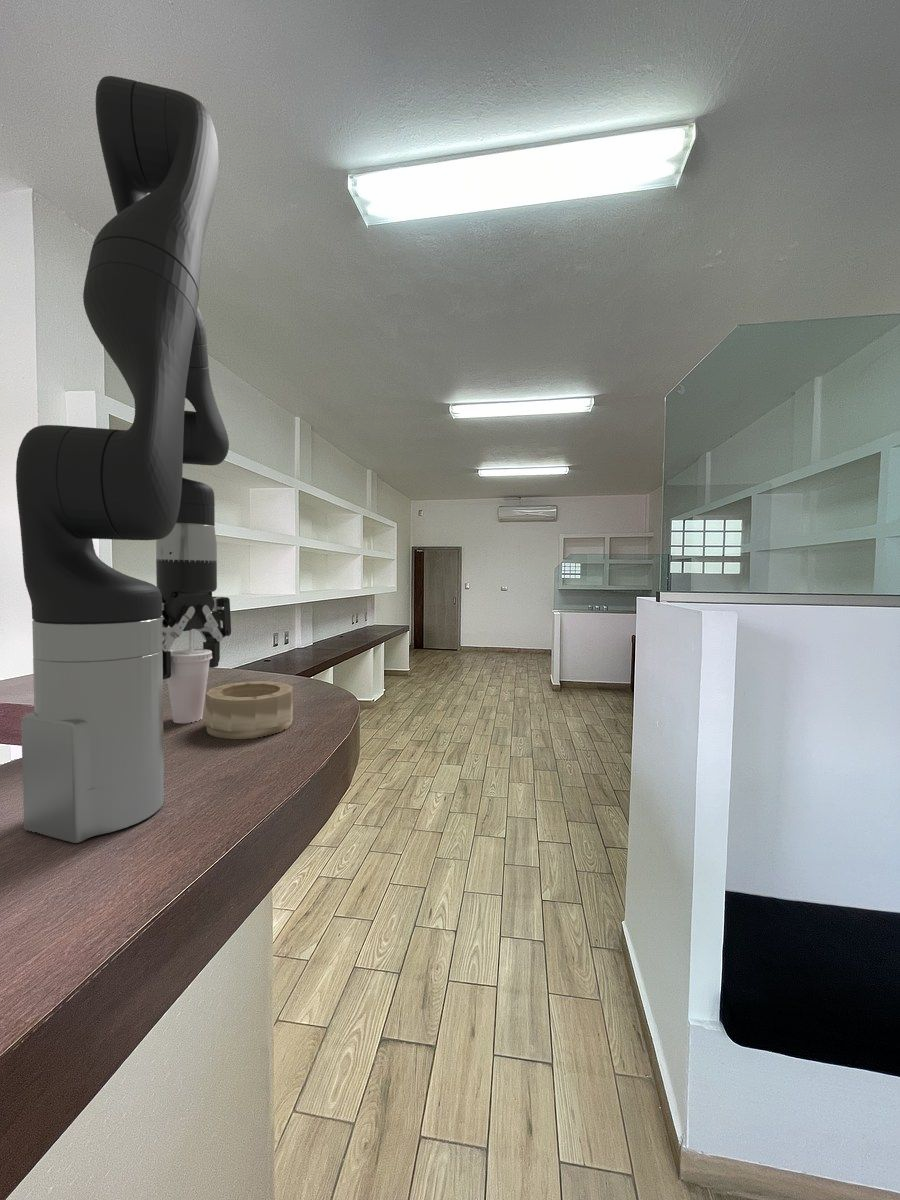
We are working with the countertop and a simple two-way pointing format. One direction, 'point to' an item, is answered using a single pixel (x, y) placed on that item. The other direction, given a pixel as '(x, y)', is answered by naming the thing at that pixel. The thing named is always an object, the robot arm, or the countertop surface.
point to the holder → (249, 709)
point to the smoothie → (188, 682)
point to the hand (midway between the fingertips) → (188, 672)
